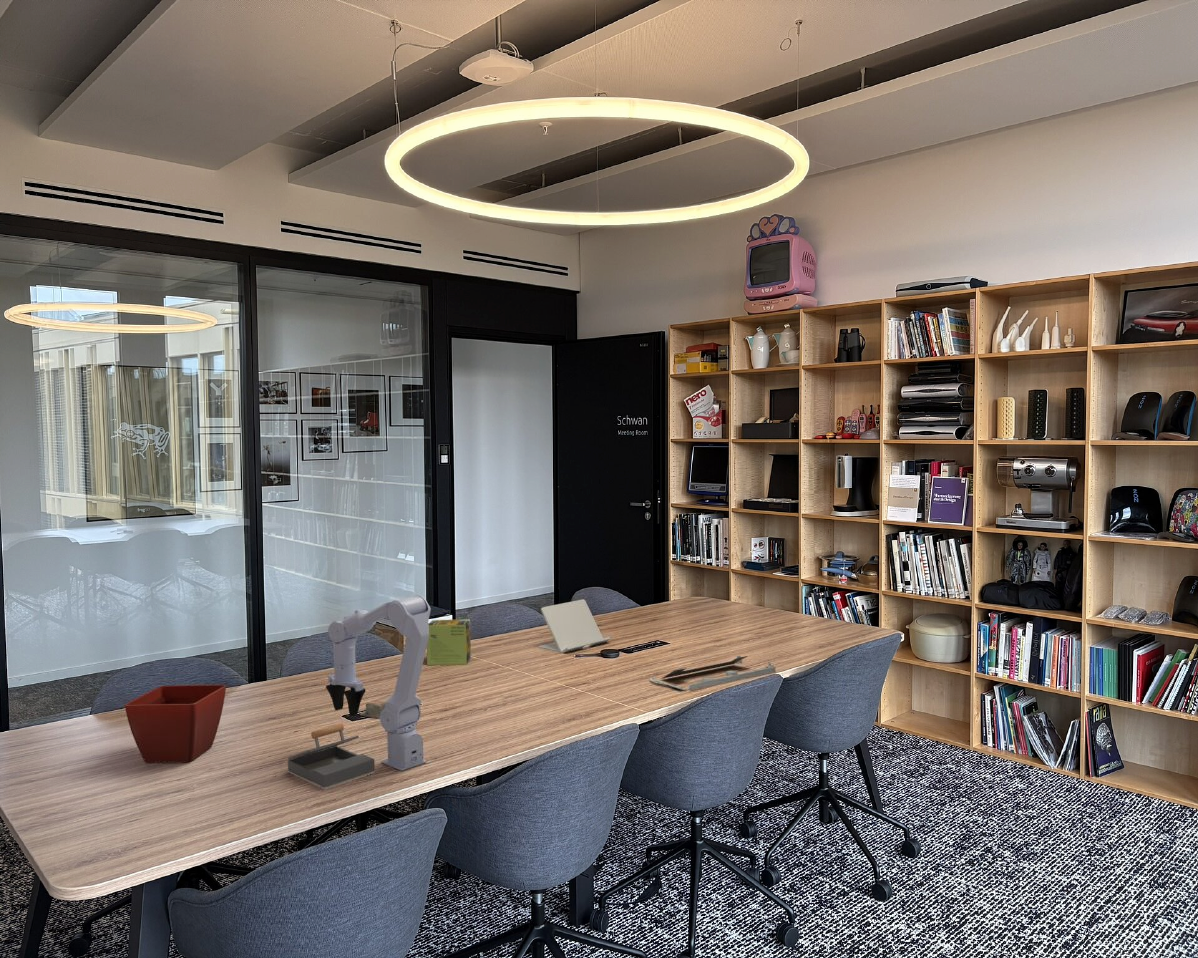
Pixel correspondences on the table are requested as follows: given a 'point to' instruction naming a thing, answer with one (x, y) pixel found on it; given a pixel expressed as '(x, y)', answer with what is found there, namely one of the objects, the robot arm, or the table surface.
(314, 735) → the grill press
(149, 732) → the plant pot
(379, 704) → the packaged product
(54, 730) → the table surface
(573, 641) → the tablet stand
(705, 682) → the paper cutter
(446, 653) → the protein box
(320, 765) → the charcoal shallow open tray
